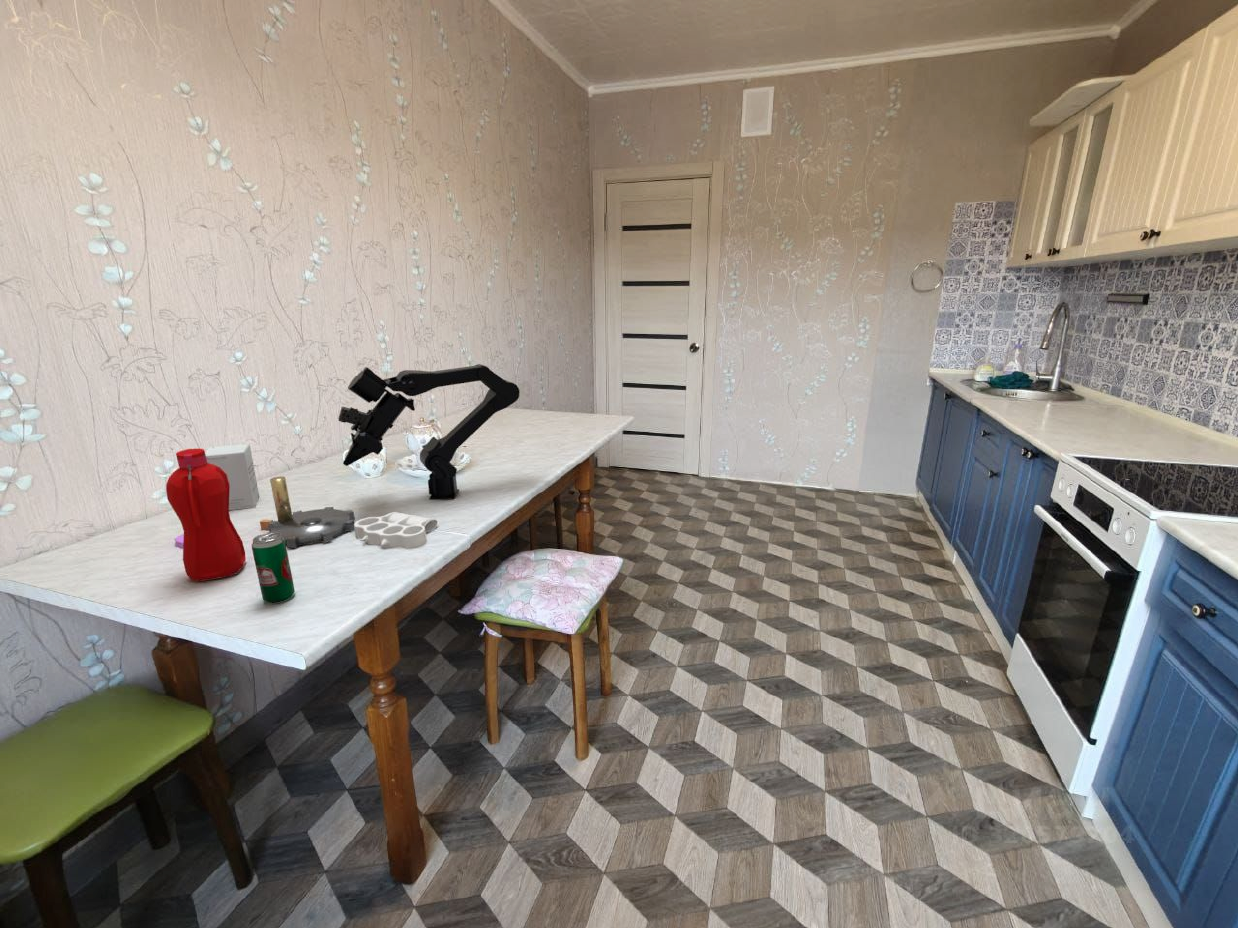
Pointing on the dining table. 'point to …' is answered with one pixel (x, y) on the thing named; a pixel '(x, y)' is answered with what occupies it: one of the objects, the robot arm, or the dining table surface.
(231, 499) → the supplement box
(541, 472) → the dining table surface
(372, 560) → the dining table surface
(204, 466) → the water bottle
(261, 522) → the orange rectangular block
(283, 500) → the sprocket
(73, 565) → the dining table surface
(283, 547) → the soda can
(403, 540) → the white brass knuckles
